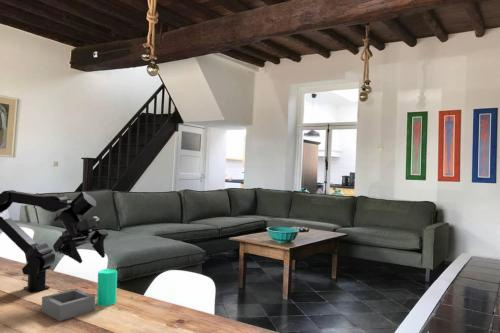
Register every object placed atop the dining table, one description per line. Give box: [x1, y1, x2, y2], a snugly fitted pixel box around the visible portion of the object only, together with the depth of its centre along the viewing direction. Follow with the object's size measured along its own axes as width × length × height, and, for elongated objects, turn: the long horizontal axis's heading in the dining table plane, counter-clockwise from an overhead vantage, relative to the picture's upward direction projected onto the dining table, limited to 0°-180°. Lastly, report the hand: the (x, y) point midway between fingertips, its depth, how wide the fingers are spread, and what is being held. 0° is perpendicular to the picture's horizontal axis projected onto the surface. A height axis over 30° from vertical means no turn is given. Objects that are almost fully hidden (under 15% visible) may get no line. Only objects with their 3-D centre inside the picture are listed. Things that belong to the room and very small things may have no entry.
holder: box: [41, 288, 96, 322], centre depth 120 cm, size 11×11×4 cm
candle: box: [96, 268, 118, 307], centre depth 128 cm, size 6×6×12 cm
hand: (93, 259), depth 132 cm, fingers open, 9 cm apart
